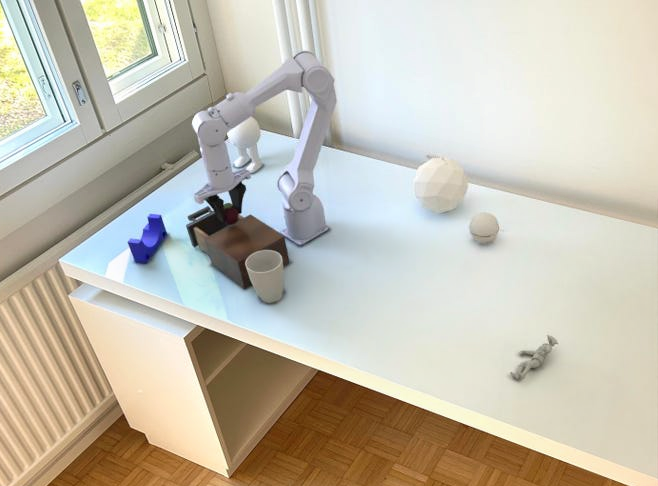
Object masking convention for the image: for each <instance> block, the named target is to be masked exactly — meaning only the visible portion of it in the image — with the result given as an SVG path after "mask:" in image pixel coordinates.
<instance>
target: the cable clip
mask: <svg viewBox="0 0 658 486" xmlns="http://www.w3.org/2000/svg"><path fill="white" fill-rule="evenodd" d="M146 217H147V223H146V224H145V226H144V227H143V228H142V233H141V237H140V239H139V238H129V240H128V241H127V245H128V248H129V250H130V253H131V255H132V258H133V262H134V263H141V264H148V262H149V261H150V259H151V258H152V256H153V255H154V254H155V252H156V251H157V249H159V247H160V245H162V243H163V241H164V240H165V239H166V237H167V236H168V232H167V229H166V226H165V223H164V220H163V217H162V214H156V213H149V214H148V215H147V216H146Z"/></svg>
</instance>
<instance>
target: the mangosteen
mask: <svg viewBox="0 0 658 486" xmlns="http://www.w3.org/2000/svg"><path fill="white" fill-rule="evenodd" d="M224 213H225V217H226V222H225V223H226V224H228V225H233V224H235V223H237V221H238V219H237V218H238V215H240V214H239V212H238V209H237V208H236V207H235V206H234V205H232V202H226V203H224Z"/></svg>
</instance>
